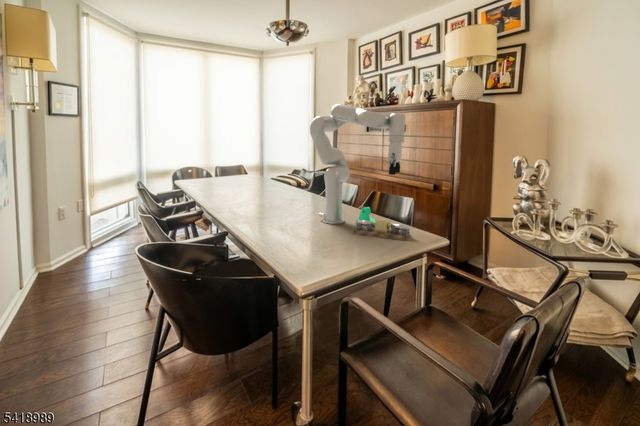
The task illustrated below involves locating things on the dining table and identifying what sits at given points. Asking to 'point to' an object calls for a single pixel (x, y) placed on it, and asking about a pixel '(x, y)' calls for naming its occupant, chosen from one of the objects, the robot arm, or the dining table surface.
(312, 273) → the dining table surface
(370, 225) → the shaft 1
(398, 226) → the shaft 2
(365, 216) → the camera mount
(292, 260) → the dining table surface
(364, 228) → the shaft bed
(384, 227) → the gold square block
